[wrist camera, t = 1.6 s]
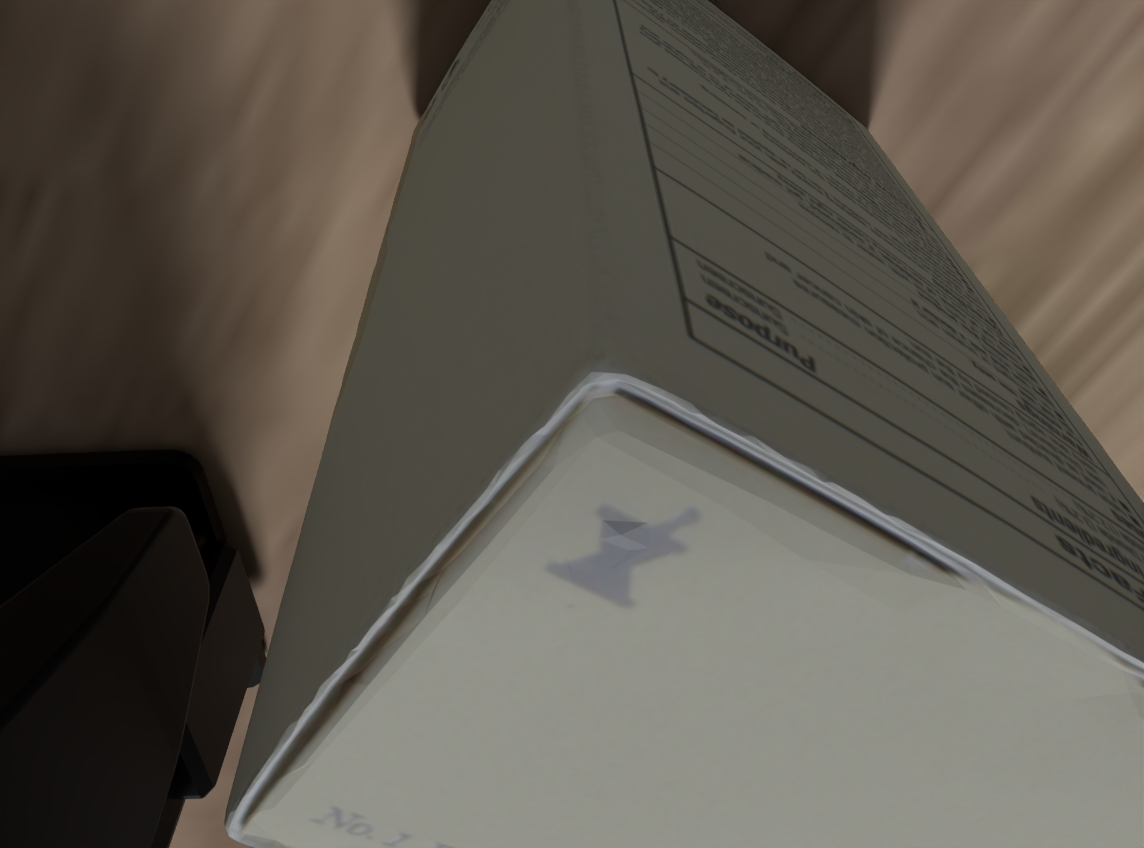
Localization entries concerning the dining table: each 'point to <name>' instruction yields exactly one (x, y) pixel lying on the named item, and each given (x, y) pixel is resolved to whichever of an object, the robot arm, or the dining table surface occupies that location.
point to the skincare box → (690, 492)
